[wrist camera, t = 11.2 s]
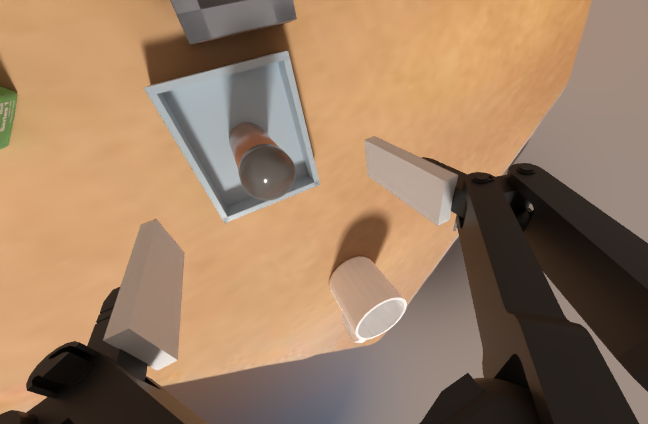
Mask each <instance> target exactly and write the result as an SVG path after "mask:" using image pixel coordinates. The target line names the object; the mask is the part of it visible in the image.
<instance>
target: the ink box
mask: <svg viewBox="0 0 648 424" xmlns="http://www.w3.org/2000/svg"><path fill="white" fill-rule="evenodd" d="M16 102H17V93H16V92H14V91H12V90H9V89H7V88H4V87H1V86H0V149H2V148H4V147H7V146H8V145H9V140H10V135H11V130H12V125H13V120H14V115H15V109H16Z"/></svg>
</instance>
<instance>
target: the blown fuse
mask: <svg viewBox="0 0 648 424" xmlns="http://www.w3.org/2000/svg"><path fill="white" fill-rule="evenodd" d="M229 143H230V147H231V150H232V153H233V156H234V159H235V162H236V165H237V168H238V174H239V178H240V181H241V184H242V186H243V188H244V190H245V191H246V192H247V193H248V194H249V195H250V196H252V197H254V198H256V199H259V200H264V201H269V200H275V199H278V198H280V197H282V196H283V195H285V194H286V193H287V192H288V191H289V190H290V189H291V187H292V186H293V184H294V181H295V177H296V169H295V165H294V163H293V161H292V159H291V158H290V157H289V156H288V155H287V154H286V153H285V152H284V151H283V150H282V149H281V148H279V147H278V146H277V144H276V143H275V142H274V141H273V140H272V139H271V138H270V137H269V136H268V135H267V133H266V132H265V131H264V130H263V129H262V128H261V127H260V126H258V125H257V124H255V123H252V122H243V123H240V124H238V125H236V126H235V127H234V128H233V129H232V131H231V133H230V136H229Z"/></svg>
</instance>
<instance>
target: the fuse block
mask: <svg viewBox="0 0 648 424" xmlns="http://www.w3.org/2000/svg"><path fill="white" fill-rule="evenodd" d="M170 1H171V3H172V5H173V8H174V10H175V12H176V14H177V17H178V19H179V21H180V23H181V26H182V28H183V30H184V32H185V35H186V37H187V39H188V41H189V43H190V45H193V44H198V43H202V42H206V41H211V40H215V39H219V38H224V37H228V36H232V35H237V34H241V33H245V32H250V31H254V30H258V29H263V28H267V27H271V26H276V25H280V24H284V23H288V22H291V21H293V20H295V19H297V18H296V13H295V8H294V3H293V0H170Z"/></svg>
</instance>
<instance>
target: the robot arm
mask: <svg viewBox="0 0 648 424" xmlns="http://www.w3.org/2000/svg"><path fill="white" fill-rule="evenodd" d="M365 150H366V163H367V175H368V176H369V177H370V178H371V179H373V180H374V181H376V182H377V183H378V184H380V185H381V186H383V187H384V188H385V189H387V190H388V191H390V192H391V193H392V194H394V195H395V196H397V197H398V198H399V199H401V200H402V201H404V202H405V203H406V204H408V205H409V206H410V207H412V208H413V209H415V210H416V211H417V212H419V213H420V214H422V215H423V216H424V217H426V218H427V219H429V220H430V221H431V222H433V223H434V224H436V225H437V226H439V225H441V224H443V223H445V222H447V221H449V219H450V214H451V211H452V212H454V213H455V214H457V216H456V221H455V225H454V231H456V228H458V233H459V237H460V242H461V247H462V252H463V256H464V261H465V265H466V271H467V275H468V280H469V285H470V289H471V294H472V298H473V304H474V309H475V313H476V318H477V323H478V327H479V332H480V337H481V341H482V347H483V362H482V364H483V375H484V378H475V379H473V378H472V377H471V376H470V375H469V374H468V373H467V374H466V375H464V376H463V377H461V378H460V379H459V380H457V381H456V382H454V383H453V384H451V385H450V386H449V387H447V388H446V389H445V390H443V391H442V392H441V393H440V395H439V396H438V398H437V399H436V401H435V402H434V404H433V406H432V407H431V408H430V410H429V411H428V413H427V414H426V416H425V417H424V419H423V420H422V422H421V423H420V424H639V423H638V421H637V419H636V417H635V415H634V413H633V412H632V410H631V408H630V406H629V404H628V403H627V401H626V399H625V397H624V395H623V393H622V391H621V390H620V388H619V386H618V384H617V382H616V380H615V379H614V377H613V375H612V373H611V371H610V369H609V367H608V366H607V364H606V362H605V360H604V358H603V356H602V355H601V353H600V351H599V349H598V347H597V345H596V344H595V342H594V340H593V338H592V337H591V335H590V334H589V332H588V331H587V330H586V329H585V328H584V327H583V326H582V325H580V324H577V323H573V322H570V321H569V320H567V319H566V317H565V316H564V314H563V312H562V310H561V308H560V306H559V304H558V302H557V300H556V298H555V296H554V294H553V292H552V289H551V288H550V286H549V283H548V281H547V279H546V277H545V275H544V273H545V274H546V275H547V277H548V278H549V279H550V280H551V281H552V283H553V284H554V285H555V286H556V287H557V288H558V290H559V291H560V292H561V293H562V295H563V296H564V297H565V298H566V299H567V300H568V302H569V303H570V304H571V305H572V306H573V308H574V309H575V310H576V311H577V312H578V314H579V315H580V316H581V317H582V318H583V320H584V321H585V322H586V323H587V324H588V326H589V327H590V328H591V329H592V330H593V332H594V333H595V334H596V335H597V336H598V338H599V339H600V340H601V341H602V342H603V343H604V345H605V346H606V347H607V348H608V349H609V351H610V352H611V353H612V354H613V355H614V357H615V358H616V359H617V360H618V361H619V362H620V363H621V364H622V366H623V367H624V368H625V369H626V370H627V371H628V372H629V373H630V375H631V376H632V377H633V378H634V379H635V380H636V381H637V382H638V383H639V384H640V385H641V386H642V387H643V388H644V389H645V390H646V391H648V243H647V242H645V241H644V240H642V239H641V238H639V237H638V236H637V235H635V234H634V233H632V232H631V231H630V230H628V229H627V228H625V227H624V226H622V225H621V224H620V223H618V222H617V221H615V220H614V219H612V218H611V217H610V216H608V215H607V214H605V213H604V212H602V211H601V210H600V209H599V208H597V207H596V206H594V205H593V204H591V203H590V202H589V201H587V200H586V199H584V198H583V197H582V196H580V195H579V194H577V193H576V192H574V191H573V190H571V189H570V188H569V187H567V186H566V185H565V184H563V183H562V182H560V181H559V180H558V179H556V178H555V177H553V176H552V175H550V174H549V173H548V172H546V171H545V170H543V169H542V168H540V167H538V166H536V165H532V164H527V163H521V164H514V165H512V166H510V167H509V169H508V172H507V175H503V176H498V177H495V176H493V175H491V174H487V173H481V172H476V173H471V174H468V175H467V174H465V173H463V172H460V171H458V170H456V169H454V168H452V167H449V166H446V165H445V164H443V163H440V162H438V161H436V160H434V159H430V158H425V157H422V158H420V157H418V156H416V155H414V154H412V153H410V152H407V151H405V150H403V149H401V148H399V147H397V146H395V145H392V144H390V143H388V142H386V141H384V140H382V139H379V138H377V137H375V136H374V137H371V138H368V139H366V140H365ZM530 203H531V204H532V205H533V208H534V210H533V211H532V210H531V209H530V208H529V205H530ZM183 267H184V251H183V250H182V249H181V248H180V247H179V245H178V244H177V243H176V242H175V241H174V240H173V238H172V237H171V236H170V235H169V234H168V232H167V231H166V230H165V229H164V228H163V226H162V225H161V224H160V223H159V222H158V220H157V219H154V220H152V221H149V222H147V223H144V224H141V226H140V229H139V232H138V235H137V238H136V241H135V244H134V247H133V250H132V253H131V256H130V259H129V263H128V266H127V269H126V272H125V275H124V278H123V281H122V284H121V287H118V288H116V289H114V290H112V292H111V293H110V294H109V296H108V297H107V298H106V300H105V301H104V303H103V305H102V308H101V311H100V315H99V316H98V319H97V321H96V322H97V324H95V327H94V329H93V332H92V335H91V337H90V340H89V343H88V345H87V346H85V345H83V344H81V343H79V342H75V341H74V342H70V343H66V344H64V345H62V346H60V347H59V348H57V349H55V350H54V351H53V352H51V353H50V354H49V355H47V356H46V357H45V358H44V359H43V360H42V361H41V362H40V363H39V364H38V365H37V366H36V368H35V369H34V371H33V372H32V373H31V375H30V376H29V379H28V381H27V384H26V386H27V391H30V392H34V393H37V394H40V395H44V396H47V398H46V399H44V400H43V401H42V402H40V403H39V404H38V405H36V406H35V407H33V408H32V409H31V410H29V411H28V412H27V413H24V412H20V411H14V410H10V411H8V412H5V413H3V414H1V415H0V424H208V423H207V422H206V421H204V420H203V419H202V418H200V417H199V416H198V415H196V414H195V413H194V412H193V411H191V410H190V409H189V408H188V407H186V406H185V405H184V404H182V403H181V402H180V401H179V400H178V399H176V398H175V397H174V396H172V395H171V394H170V393H169V392H167V391H166V390H165V389H163V388H162V387H161V386H160V385H158V384H157V383H156V382H155V381H153V380H152V379H151V378H149V377H147V376H146V372H147V366H150V367H152V368H154V369H155V370H159V369H161V368H163V367H165V366H167V365H169V364H171V363H173V362H175V361H177V360H178V346H179V330H180V314H181V299H182V283H183ZM543 272H544V273H543Z"/></svg>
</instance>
